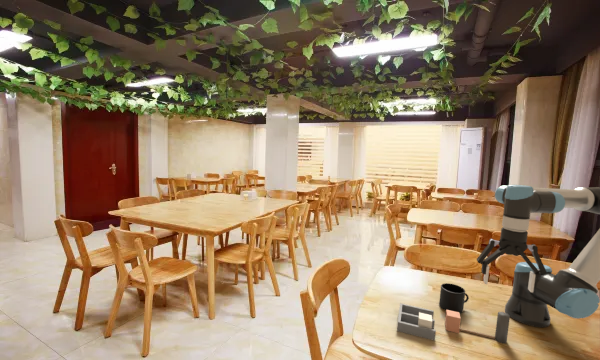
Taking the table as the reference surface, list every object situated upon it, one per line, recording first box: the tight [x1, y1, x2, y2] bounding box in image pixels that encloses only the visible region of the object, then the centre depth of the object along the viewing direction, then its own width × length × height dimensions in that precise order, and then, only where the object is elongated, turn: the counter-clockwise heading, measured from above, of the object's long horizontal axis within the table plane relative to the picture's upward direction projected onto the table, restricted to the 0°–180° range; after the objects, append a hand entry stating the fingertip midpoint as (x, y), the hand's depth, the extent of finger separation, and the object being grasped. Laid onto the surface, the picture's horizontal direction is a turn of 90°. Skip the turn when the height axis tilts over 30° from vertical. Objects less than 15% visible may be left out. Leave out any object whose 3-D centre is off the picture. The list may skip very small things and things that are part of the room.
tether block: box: [444, 310, 511, 344], centre depth 109 cm, size 20×4×10 cm, turn 68°
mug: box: [438, 282, 470, 314], centre depth 127 cm, size 9×12×9 cm
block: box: [418, 312, 432, 329], centre depth 109 cm, size 4×4×6 cm
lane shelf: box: [396, 302, 437, 341], centre depth 114 cm, size 13×15×4 cm
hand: (507, 286), depth 104 cm, fingers open, 13 cm apart
